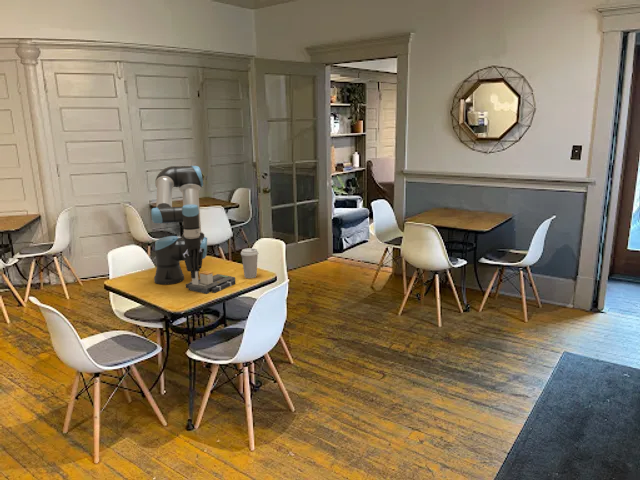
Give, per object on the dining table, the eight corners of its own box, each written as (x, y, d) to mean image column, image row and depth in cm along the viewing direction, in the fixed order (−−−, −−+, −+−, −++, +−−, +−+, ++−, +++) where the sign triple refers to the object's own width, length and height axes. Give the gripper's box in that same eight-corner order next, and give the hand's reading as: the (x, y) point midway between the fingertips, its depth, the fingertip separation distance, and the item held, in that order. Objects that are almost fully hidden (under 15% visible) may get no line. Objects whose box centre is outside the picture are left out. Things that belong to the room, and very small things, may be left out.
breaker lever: (200, 283, 245) (199, 272, 244) (205, 281, 248) (204, 270, 247) (208, 284, 243) (207, 273, 241) (212, 282, 246) (212, 272, 244)
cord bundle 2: (211, 292, 240) (210, 288, 239) (232, 283, 253) (231, 279, 253) (215, 293, 238) (214, 289, 238) (236, 284, 252) (235, 280, 252)
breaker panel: (188, 290, 243) (188, 285, 242) (217, 278, 262) (217, 273, 261) (206, 293, 237) (206, 288, 237) (235, 281, 256) (235, 276, 255)
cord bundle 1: (185, 287, 247) (184, 283, 246) (209, 278, 262) (209, 274, 262) (191, 289, 245) (191, 285, 244) (215, 279, 260) (215, 275, 259)
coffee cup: (256, 279, 259) (255, 252, 256) (239, 278, 261) (237, 251, 257) (261, 274, 268) (260, 248, 265) (245, 273, 270) (244, 247, 267)
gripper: (188, 240, 226) (191, 288, 231) (207, 235, 237) (210, 281, 242) (176, 238, 229) (180, 286, 234) (196, 233, 240) (199, 279, 245)
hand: (195, 284), depth 238 cm, fingers closed
